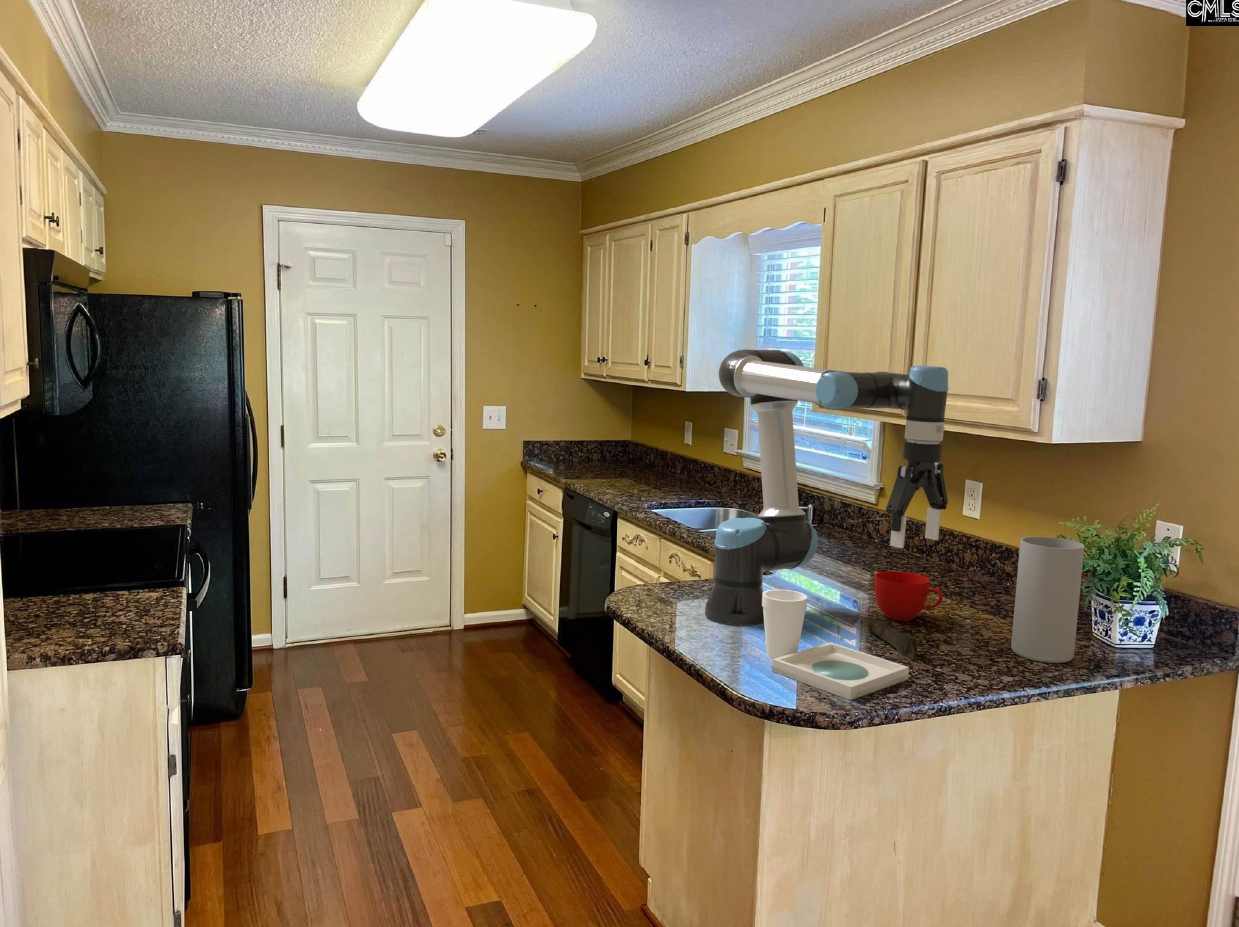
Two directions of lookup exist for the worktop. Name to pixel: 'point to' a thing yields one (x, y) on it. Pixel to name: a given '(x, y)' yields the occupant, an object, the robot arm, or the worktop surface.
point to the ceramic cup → (902, 594)
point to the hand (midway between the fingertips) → (914, 542)
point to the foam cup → (783, 621)
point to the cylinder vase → (1047, 599)
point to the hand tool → (894, 638)
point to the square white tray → (840, 670)
